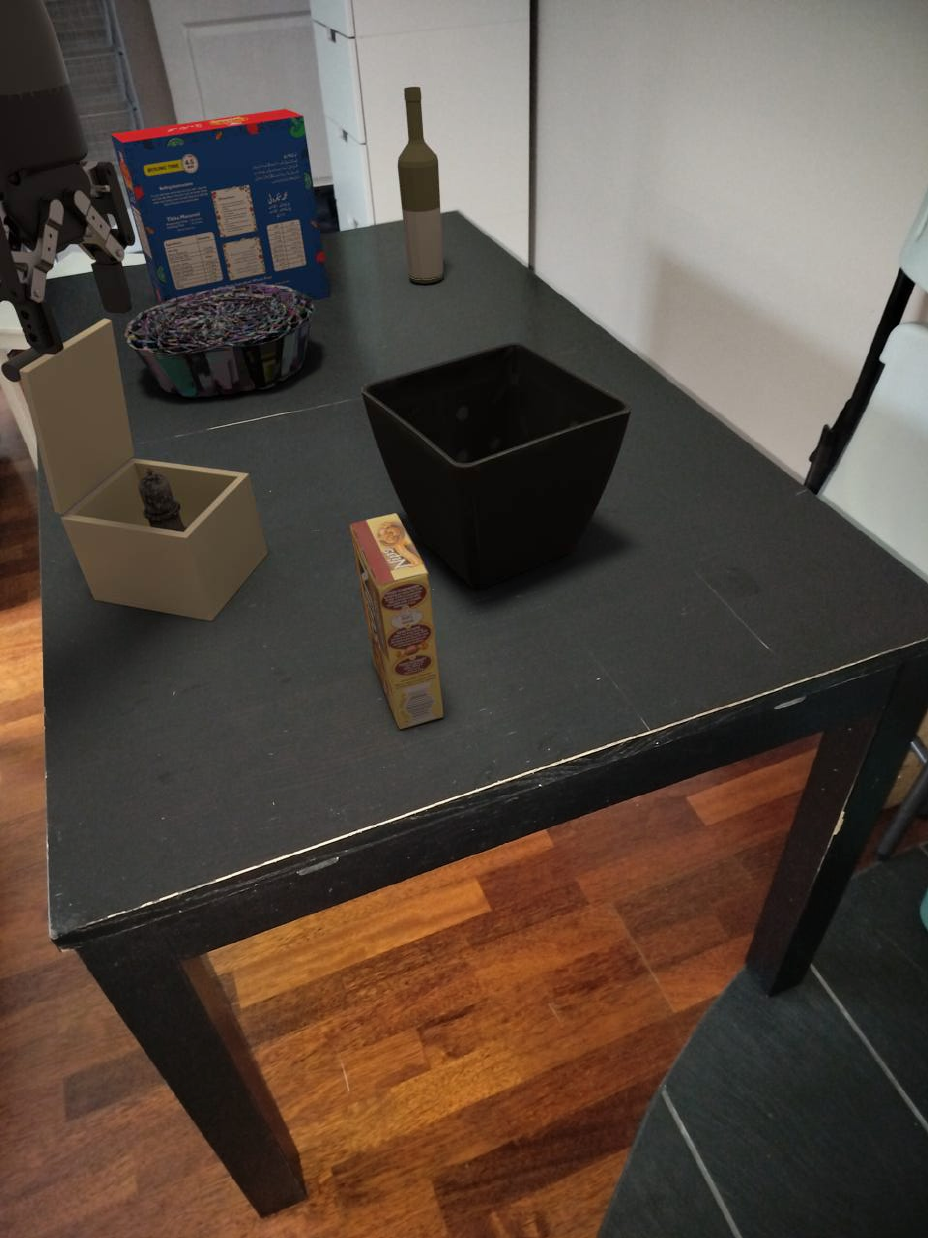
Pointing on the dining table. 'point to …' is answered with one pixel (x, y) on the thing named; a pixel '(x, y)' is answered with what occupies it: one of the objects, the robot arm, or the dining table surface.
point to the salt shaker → (160, 503)
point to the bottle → (420, 197)
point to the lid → (76, 411)
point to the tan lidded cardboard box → (168, 540)
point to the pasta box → (225, 204)
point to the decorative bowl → (224, 339)
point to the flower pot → (497, 456)
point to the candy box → (399, 618)
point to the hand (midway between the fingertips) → (86, 331)
